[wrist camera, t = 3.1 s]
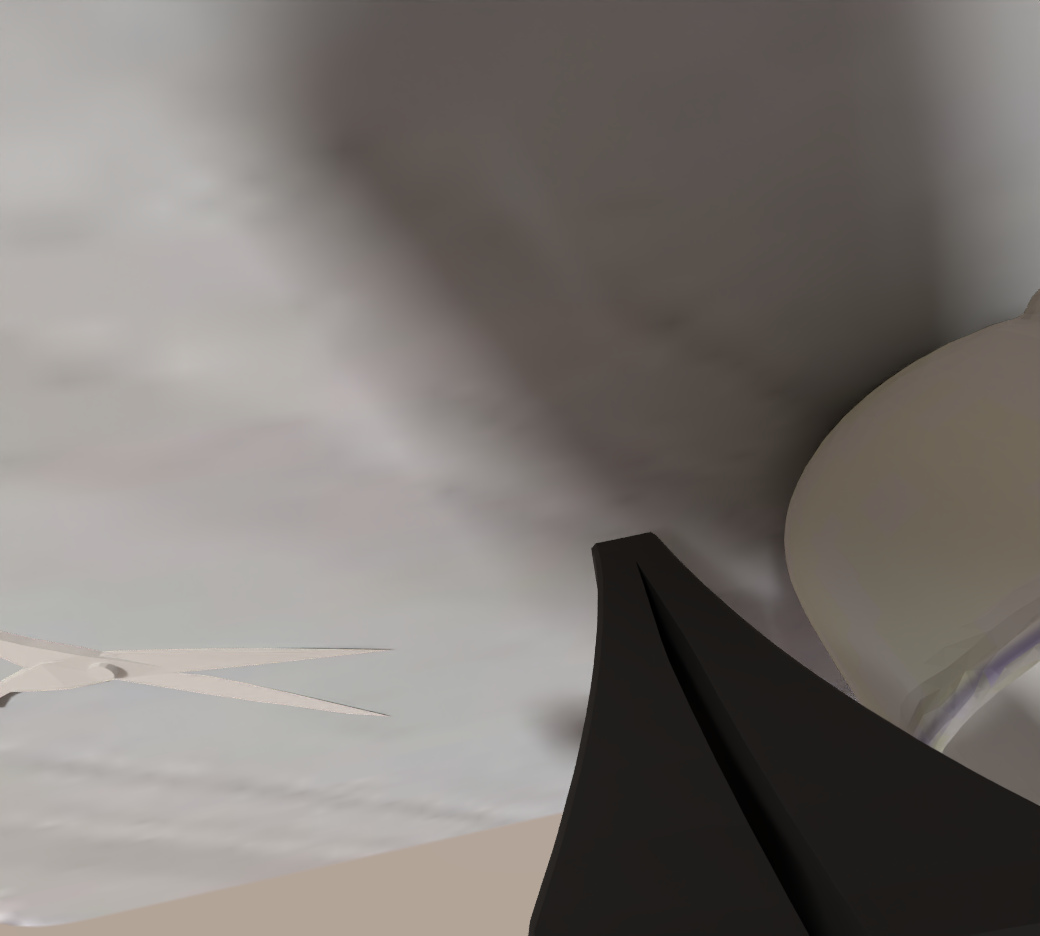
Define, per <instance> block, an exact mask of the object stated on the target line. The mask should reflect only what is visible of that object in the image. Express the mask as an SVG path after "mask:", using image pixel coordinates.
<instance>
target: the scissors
mask: <svg viewBox="0 0 1040 936" xmlns="http://www.w3.org/2000/svg"><path fill="white" fill-rule="evenodd" d="M378 651H387V650H369V649H304V648H204V649H162V650H121V651H105V652H102V651H98V650H93V649H89V648H84V647H78V646H73V645H67V644H62V643H56V642H50V641H45V640H39V639H34V638H29V637H25V636H20V635H16V634H12V633H8V632H3V631H0V658H3V659H5V660H8V661H10V662H12V663H15V664H17V665H20V666H22V667H25V668H24V669H22V670H20V671H18V672H16V673H14V674H12V675H11V676H9V677H7V678H5V679H3V680H2V681H0V697H2V696H4V695H6V694H8V693H10V692H26V691H48V690H65V689H72V688H77V687H82V686H87V685H91V684H96V683H101V682H106V681H111V680H116V679H117V680H123V681H129V682H135V683H141V684H148V685H154V686H160V687H166V688H172V689H178V690H185V691H191V692H197V693H203V694H209V695H216V696H223V697H230V698H237V699H244V700H251V701H259V702H266V703H274V704H282V705H290V706H297V707H304V708H311V709H318V710H325V711H332V712H339V713H348V714H362V715H376V716H386V715H382V714H378V713H374V712H369V711H365V710H361V709H357V708H352V707H348V706H344V705H339V704H335V703H331V702H327V701H322V700H318V699H314V698H310V697H305V696H301V695H297V694H293V693H288V692H283V691H279V690H274V689H269V688H265V687H260V686H256V685H251V684H247V683H242V682H237V681H232V680H227V679H222V678H217V677H212V676H206V675H194V674H184V673H178V672H188V671H199V670H209V669H219V668H229V667H240V666H250V665H260V664H269V663H278V662H287V661H296V660H305V659H314V658H323V657H332V656H342V655H351V654H360V653H369V652H378ZM390 717H391V716H390Z"/></svg>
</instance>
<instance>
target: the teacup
mask: <svg viewBox="0 0 1040 936" xmlns="http://www.w3.org/2000/svg"><path fill="white" fill-rule="evenodd" d="M784 544H785V558H786V563H787V568H788V572H789V576H790V580H791V582H792V585H793V587H794V590H795V592H796V595H797V597H798V599H799V601H800V603H801V605H802V608H803V610H804V612H805V613H806V615H807V617H808V619H809V621H810V623H811V625H812V626H813V628H814V630H815V631H816V633H817V635H818V636H819V638H820V640H821V641H822V643H823V645H824V646H825V648H826V650H827V651H828V653H829V655H830V656H831V658H832V660H833V661H834V663H835V665H836V666H837V668H838V670H839V671H840V673H841V674H842V676H843V678H844V679H845V681H846V682H847V684H848V685H849V687H850V689H851V690H852V692H853V693H854V695H855V696H856V698H857V699H858V701H859V703H860V704H861V705H863V706H864V707H866V708H868V709H869V710H871V711H873V712H874V713H876V714H877V715H879V716H881V717H882V718H884V719H886V720H887V721H889V722H891V723H892V724H894V725H895V726H897V727H899V728H900V729H902V730H904V731H905V732H907V733H908V734H910V735H912V736H913V737H915V738H917V739H918V740H920V741H921V742H923V743H925V744H927V745H928V746H930V747H932V748H934V749H936V750H937V751H939V752H941V753H943V754H944V755H946V756H948V757H950V758H951V759H953V760H955V761H957V762H959V763H960V764H962V765H964V766H966V767H967V768H969V769H971V770H973V771H974V772H976V773H978V774H980V775H982V776H984V777H986V778H987V779H989V780H991V781H993V782H995V783H997V784H999V785H1001V786H1002V787H1004V788H1006V789H1008V790H1010V791H1012V792H1014V793H1016V794H1018V795H1020V796H1022V797H1024V798H1026V799H1028V800H1030V801H1032V802H1034V803H1035V804H1037V805H1039V806H1040V289H1039V290H1038V291H1037V292H1036V293H1035V294H1034V295H1033V297H1032V298H1031V300H1030V302H1029V304H1028V306H1027V308H1026V310H1025V312H1024V314H1022V315H1020V316H1018V317H1017V318H1015V319H1011V320H1008V321H1004V322H1001V323H997V324H994V325H991V326H989V327H986V328H984V329H981V330H979V331H977V332H974V333H972V334H969V335H967V336H965V337H962V338H960V339H957V340H955V341H953V342H950V343H948V344H946V345H944V346H942V347H941V348H939V349H937V350H935V351H933V352H931V353H930V354H928V355H926V356H924V357H922V358H920V359H919V360H917V361H915V362H913V363H912V364H910V365H909V366H907V367H906V368H904V369H903V370H901V371H900V372H898V373H897V374H895V375H894V376H892V377H891V378H889V379H888V380H886V381H885V382H884V383H883V384H881V385H880V386H879V387H877V388H876V389H875V390H873V391H872V392H871V393H870V394H868V395H867V396H866V397H865V398H864V399H863V400H862V401H861V402H859V403H858V404H857V405H856V406H855V407H854V408H853V409H852V410H851V411H850V412H849V413H847V414H846V415H845V416H844V417H843V418H842V419H841V421H840V422H839V423H838V424H837V425H836V426H835V427H834V429H833V430H832V431H831V432H830V433H829V434H828V435H827V437H826V438H825V439H824V440H823V442H822V443H821V444H820V446H819V447H818V449H817V450H816V452H815V453H814V455H813V456H812V458H811V459H810V461H809V462H808V464H807V466H806V467H805V469H804V471H803V473H802V475H801V477H800V479H799V481H798V483H797V485H796V487H795V490H794V493H793V495H792V498H791V501H790V503H789V508H788V512H787V517H786V524H785V534H784Z"/></svg>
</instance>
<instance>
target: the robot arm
mask: <svg viewBox="0 0 1040 936" xmlns="http://www.w3.org/2000/svg"><path fill="white" fill-rule="evenodd" d="M591 550H592V556H593V562H594V569H595V575H596V581H597V588H598V617H597V636H596V646H595V657H594V667H593V675H592V682H591V689H590V695H589V701H588V707H587V713H586V718H585V723H584V728H583V733H582V738H581V743H580V748H579V752H578V757H577V761H576V766H575V770H574V774H573V778H572V782H571V786H570V789H569V793H568V797H567V801H566V804H565V808H564V812H563V815H562V820H561V823H560V827H559V830H558V834H557V838H556V841H555V844H554V848H553V851H552V854H551V857H550V860H549V863H548V867H547V870H546V873H545V876H544V879H543V882H542V885H541V888H540V891H539V895H538V898H537V901H536V904H535V907H534V910H533V913H532V917H531V920H530V925H529V935H528V936H1040V806H1039V805H1037V804H1035V803H1034V802H1032V801H1030V800H1028V799H1026V798H1024V797H1022V796H1020V795H1018V794H1016V793H1014V792H1012V791H1010V790H1008V789H1006V788H1004V787H1002V786H1001V785H999V784H997V783H995V782H993V781H991V780H989V779H987V778H986V777H984V776H982V775H980V774H978V773H976V772H974V771H973V770H971V769H969V768H967V767H966V766H964V765H962V764H960V763H959V762H957V761H955V760H953V759H951V758H950V757H948V756H946V755H944V754H943V753H941V752H939V751H937V750H936V749H934V748H932V747H930V746H928V745H927V744H925V743H923V742H921V741H920V740H918V739H917V738H915V737H913V736H912V735H910V734H908V733H907V732H905V731H904V730H902V729H900V728H899V727H897V726H895V725H894V724H892V723H891V722H889V721H887V720H886V719H884V718H882V717H881V716H879V715H877V714H876V713H874V712H873V711H871V710H869V709H868V708H866V707H864V706H863V705H861V704H860V703H858V702H856V701H855V700H853V699H852V698H850V697H848V696H847V695H845V694H844V693H843V692H841V691H840V690H838V689H837V688H835V687H834V686H832V685H831V684H829V683H828V682H826V681H825V680H823V679H822V678H820V677H819V676H817V675H816V674H814V673H813V672H812V671H810V670H809V669H808V668H806V667H805V666H803V665H802V664H801V663H799V662H798V661H796V660H795V659H794V658H792V657H791V656H789V655H788V654H787V653H785V652H784V651H783V650H781V649H780V648H779V647H777V646H776V645H775V644H774V643H772V642H771V641H770V640H768V639H767V638H766V637H765V636H763V635H762V634H761V633H760V632H758V631H757V630H756V629H755V628H754V627H752V626H751V625H750V624H749V623H747V622H746V621H745V620H744V619H742V618H741V617H740V616H739V615H738V614H737V613H735V612H734V611H733V610H732V609H731V608H730V607H728V606H727V605H726V604H725V603H724V602H723V601H722V600H721V599H720V598H718V597H717V596H716V595H715V594H714V593H713V592H712V591H711V590H710V589H708V588H707V587H706V586H705V585H704V584H703V583H702V582H701V581H700V580H699V579H698V578H697V577H696V576H695V575H694V574H693V573H692V572H691V571H690V570H689V569H687V568H686V567H685V566H684V565H683V564H682V563H681V562H680V561H679V559H678V558H677V557H676V556H675V555H674V554H673V553H672V552H671V551H670V550H669V549H668V548H667V547H666V546H665V545H664V544H663V542H662V541H661V540H660V539H659V538H658V537H657V536H656V535H655V534H653V533H652V532H649V533H644V534H640V535H635V536H630V537H625V538H620V539H615V540H611V541H606V542H601V543H596V544H595V545H594V546H593V547H592V548H591Z"/></svg>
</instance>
